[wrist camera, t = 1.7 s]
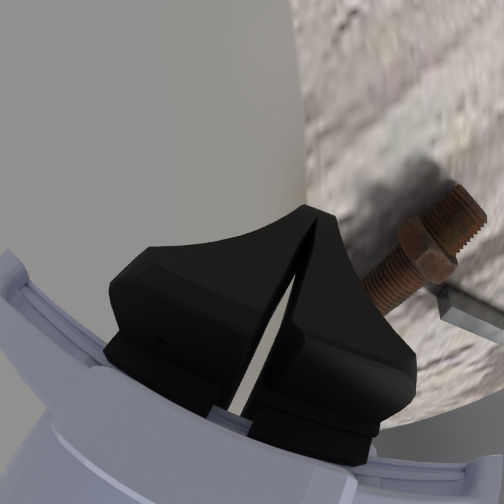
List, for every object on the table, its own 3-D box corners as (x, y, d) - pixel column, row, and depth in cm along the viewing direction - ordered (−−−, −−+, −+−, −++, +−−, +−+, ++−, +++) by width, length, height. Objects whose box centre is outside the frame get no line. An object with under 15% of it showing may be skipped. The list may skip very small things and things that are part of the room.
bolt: (442, 163, 11) (291, 319, 20) (504, 236, 9) (329, 372, 18) (450, 174, 15) (330, 297, 24) (494, 228, 13) (362, 341, 22)
